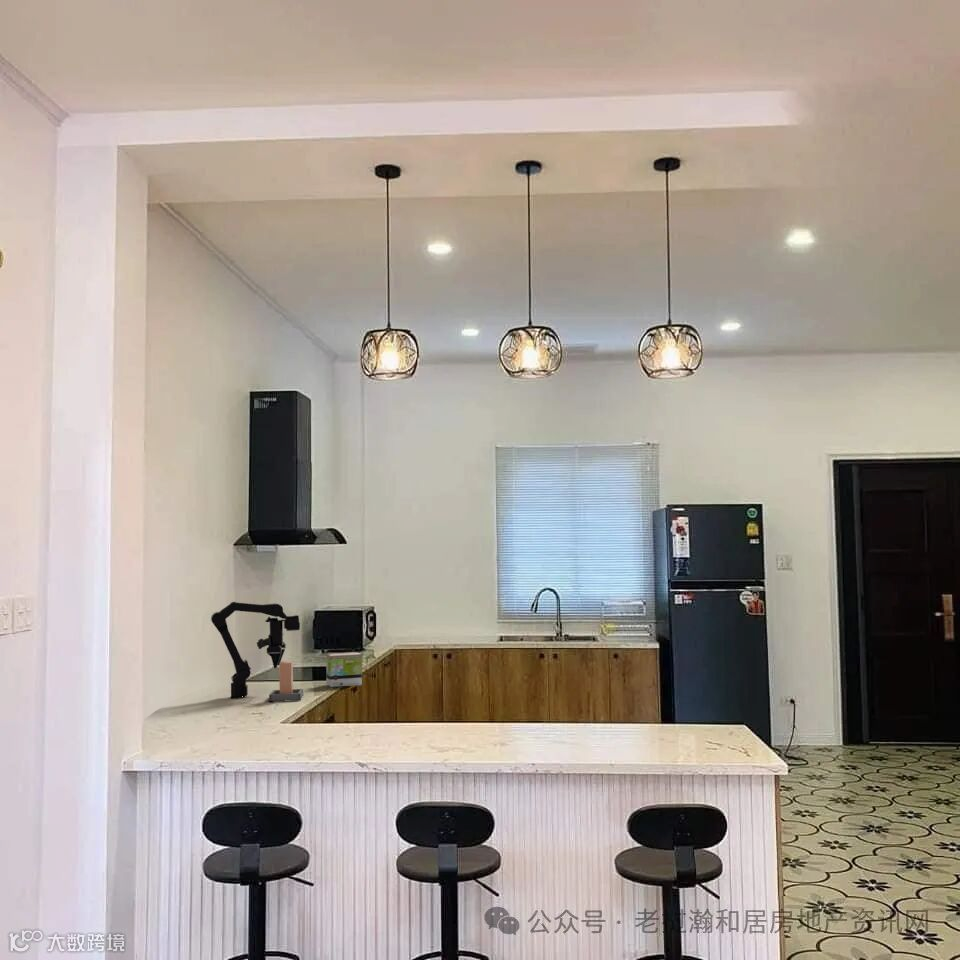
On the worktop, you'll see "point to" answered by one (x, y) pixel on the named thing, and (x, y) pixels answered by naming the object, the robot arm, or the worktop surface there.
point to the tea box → (344, 669)
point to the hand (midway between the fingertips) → (276, 666)
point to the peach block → (286, 677)
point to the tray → (286, 695)
